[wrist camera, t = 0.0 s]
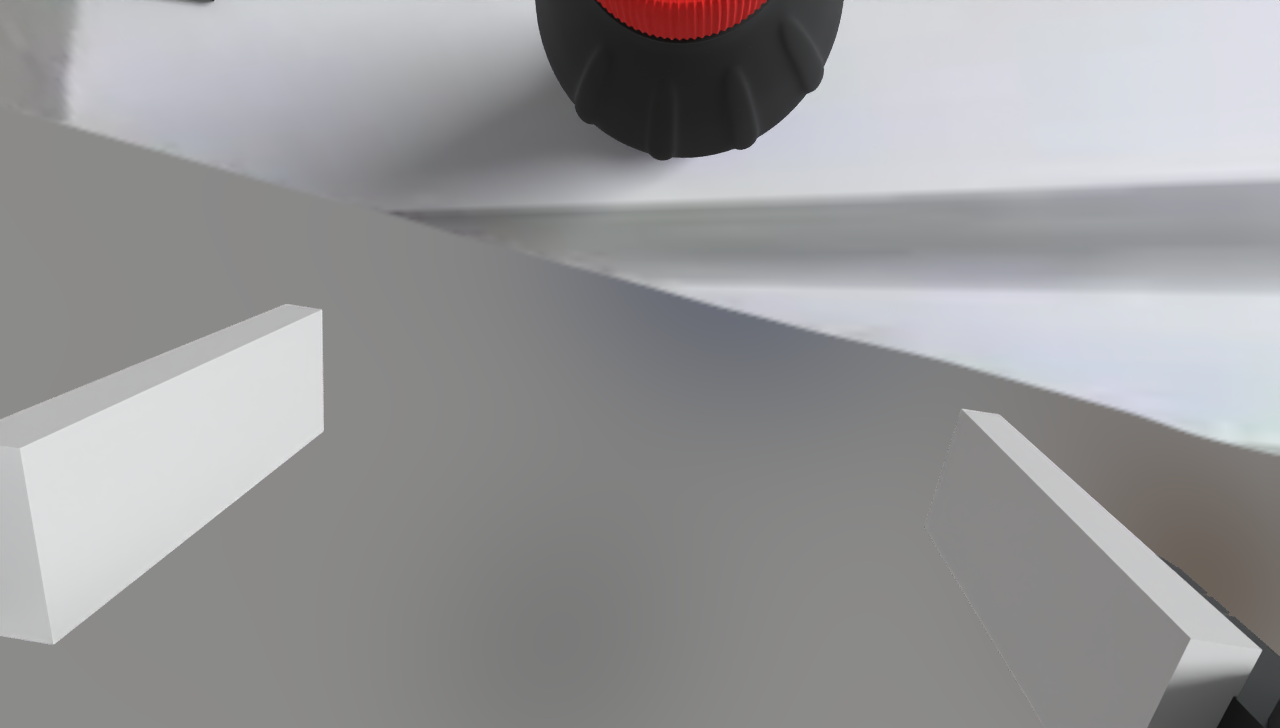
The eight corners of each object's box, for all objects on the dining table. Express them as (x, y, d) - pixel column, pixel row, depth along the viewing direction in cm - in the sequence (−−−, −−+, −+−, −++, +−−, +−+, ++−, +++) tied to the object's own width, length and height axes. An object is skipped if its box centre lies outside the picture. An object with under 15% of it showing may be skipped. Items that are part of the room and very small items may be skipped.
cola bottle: (624, 159, 39) (449, 210, 11) (602, -4, 37) (299, -488, 8) (772, 138, 38) (1002, 135, 10) (761, -30, 36) (1023, -674, 7)
